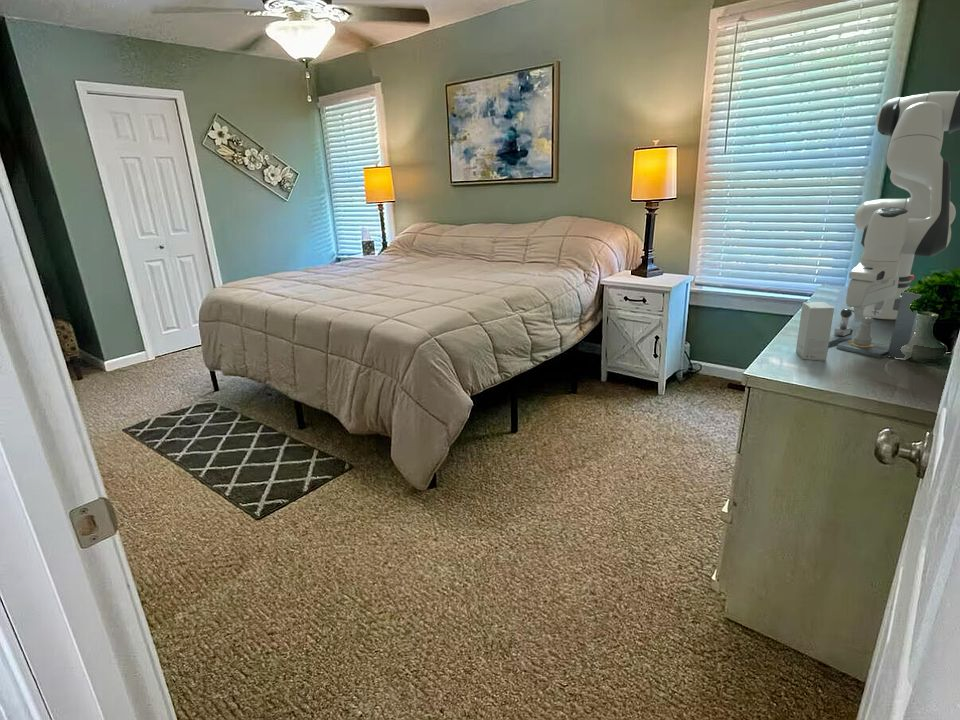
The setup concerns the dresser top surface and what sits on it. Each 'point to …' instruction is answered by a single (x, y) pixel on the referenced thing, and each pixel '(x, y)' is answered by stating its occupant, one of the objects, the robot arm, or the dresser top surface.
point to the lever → (844, 323)
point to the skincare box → (814, 330)
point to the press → (900, 335)
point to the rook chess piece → (864, 332)
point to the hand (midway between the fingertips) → (867, 317)
